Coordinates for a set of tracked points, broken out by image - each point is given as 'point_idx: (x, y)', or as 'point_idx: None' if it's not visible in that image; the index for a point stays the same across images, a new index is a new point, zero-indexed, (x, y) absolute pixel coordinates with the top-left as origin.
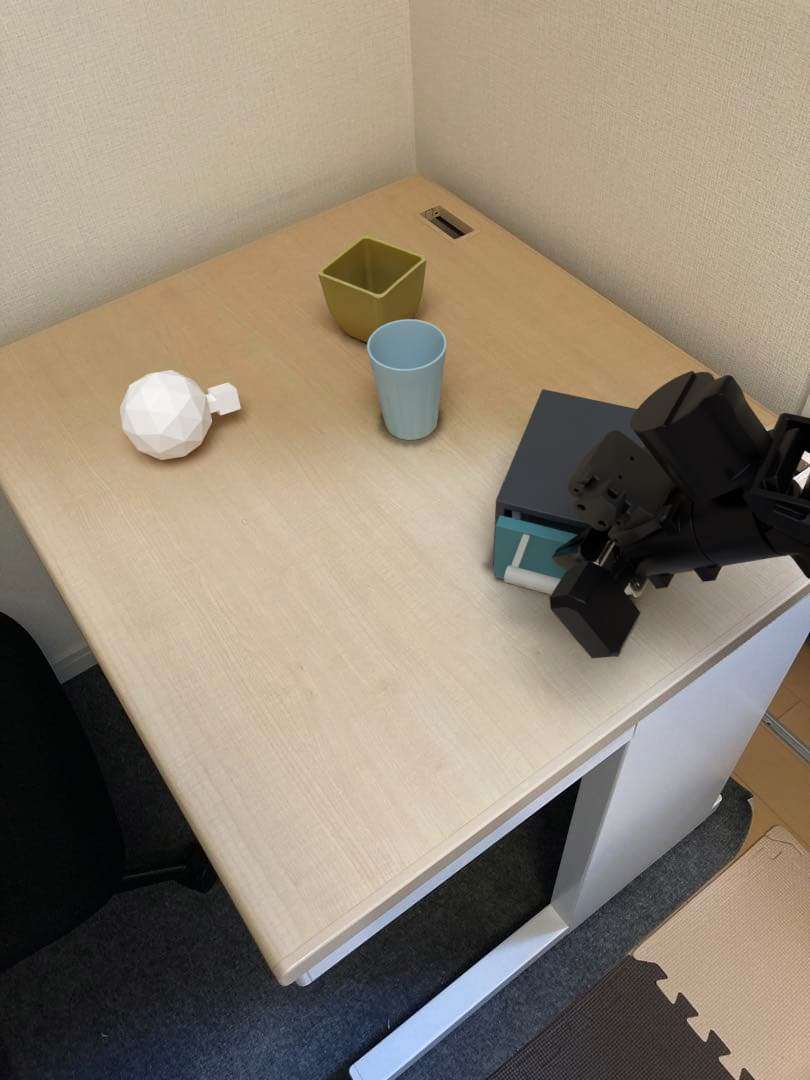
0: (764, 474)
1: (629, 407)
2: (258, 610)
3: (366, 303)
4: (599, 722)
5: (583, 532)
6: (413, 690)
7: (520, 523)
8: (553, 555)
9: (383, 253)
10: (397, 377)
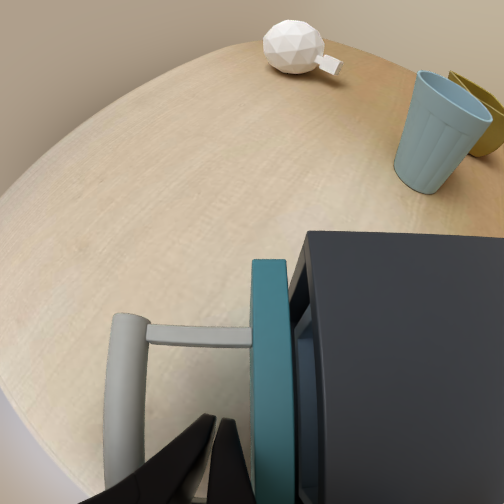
0: None
1: None
2: (155, 136)
3: None
4: (86, 484)
5: (238, 501)
6: (78, 276)
7: (278, 310)
8: (203, 417)
9: (496, 109)
10: (422, 93)
